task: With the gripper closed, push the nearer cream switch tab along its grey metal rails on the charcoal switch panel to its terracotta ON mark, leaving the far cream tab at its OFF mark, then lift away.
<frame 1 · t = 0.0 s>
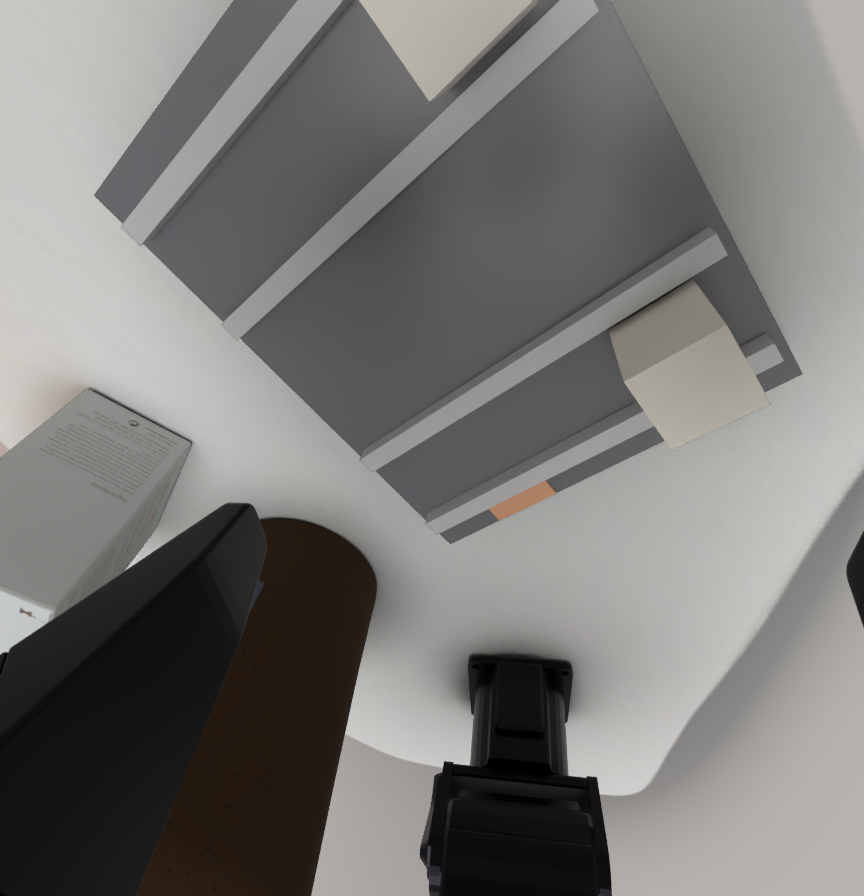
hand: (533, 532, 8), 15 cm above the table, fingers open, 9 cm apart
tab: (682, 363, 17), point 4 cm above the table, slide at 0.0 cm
olive oil: (301, 571, 33), on the table
small box: (128, 462, 30), on the table
switch panel: (456, 267, 21), on the table
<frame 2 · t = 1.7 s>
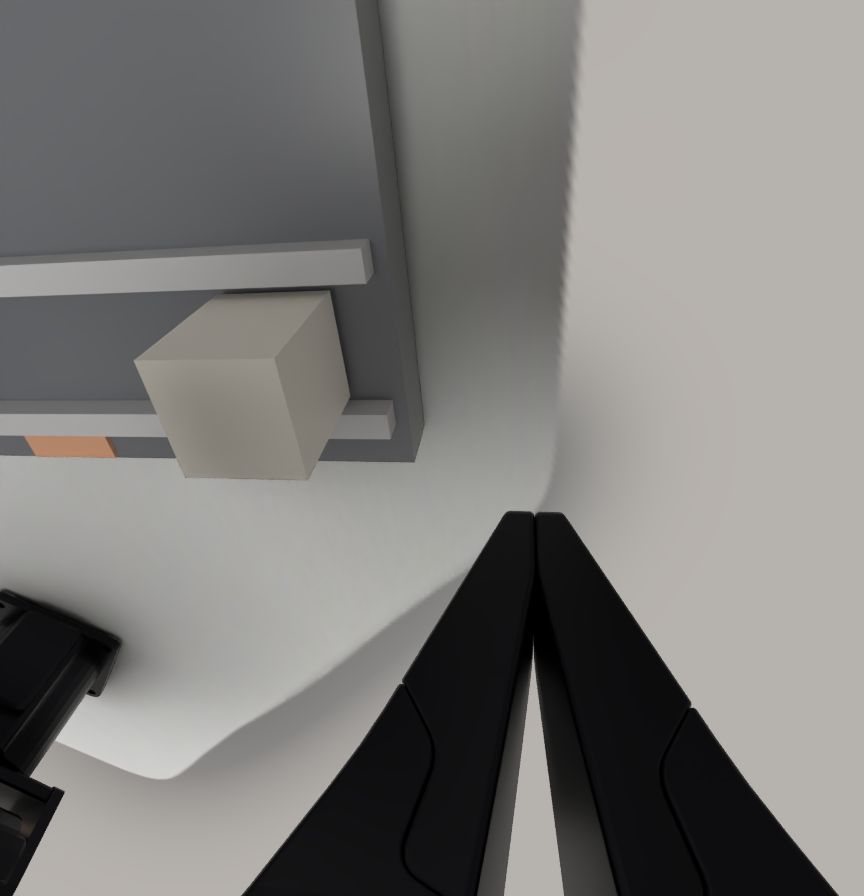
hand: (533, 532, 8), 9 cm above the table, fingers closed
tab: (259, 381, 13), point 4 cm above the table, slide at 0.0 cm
switch panel: (73, 91, 14), on the table
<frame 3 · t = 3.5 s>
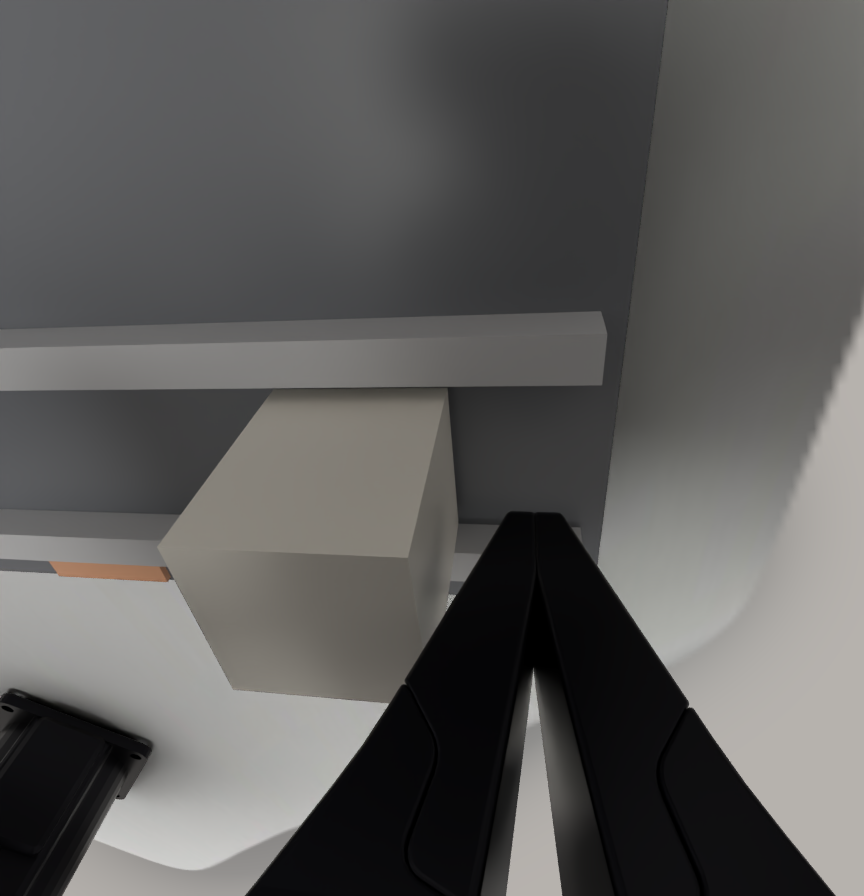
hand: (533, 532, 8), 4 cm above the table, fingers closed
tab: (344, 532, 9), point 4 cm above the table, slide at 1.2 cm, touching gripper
switch panel: (125, 80, 9), on the table
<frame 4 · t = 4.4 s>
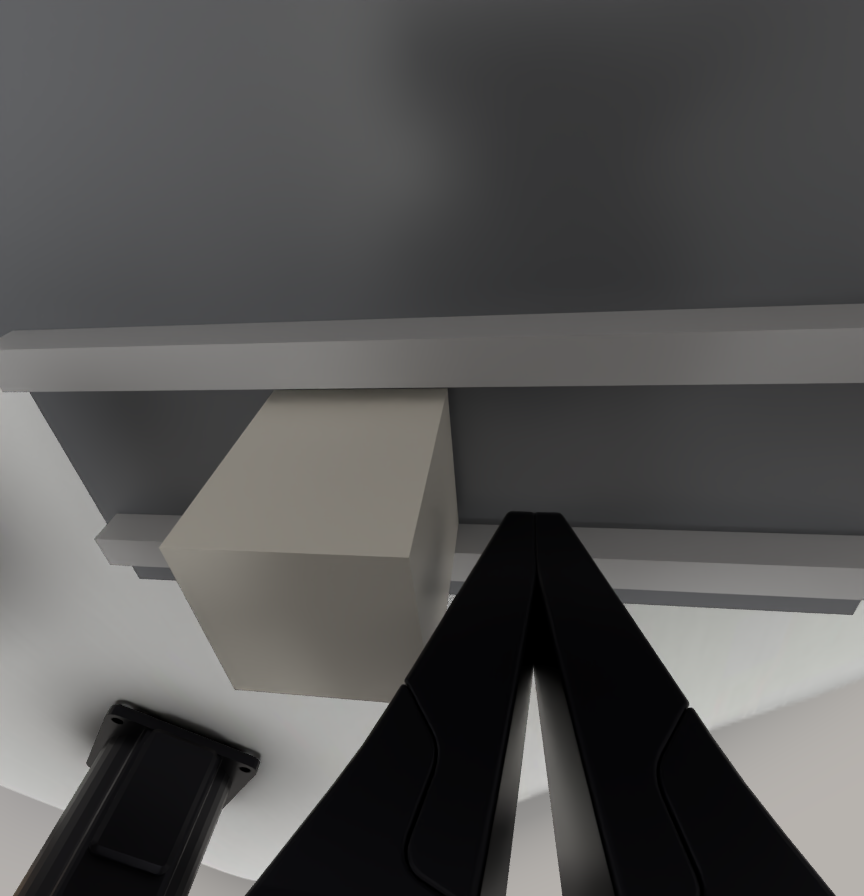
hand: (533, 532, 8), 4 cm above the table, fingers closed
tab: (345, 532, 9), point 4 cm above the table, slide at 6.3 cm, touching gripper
switch panel: (431, 48, 8), on the table
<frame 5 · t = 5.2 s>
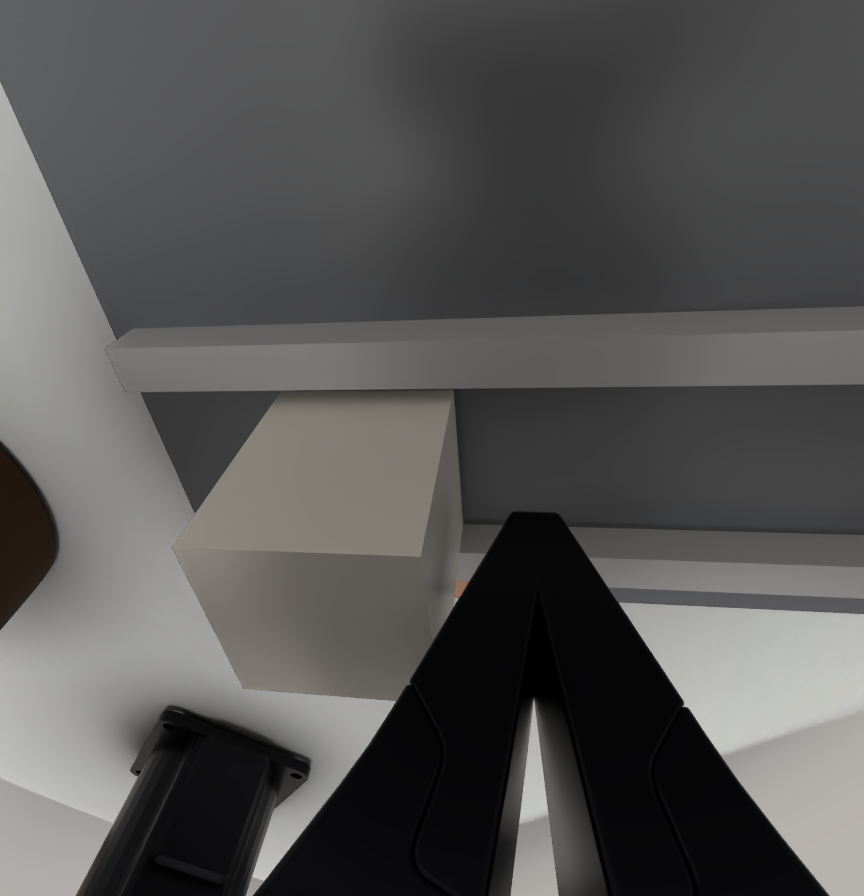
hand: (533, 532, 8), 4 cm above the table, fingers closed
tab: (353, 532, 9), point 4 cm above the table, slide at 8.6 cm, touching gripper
switch panel: (591, 37, 8), on the table
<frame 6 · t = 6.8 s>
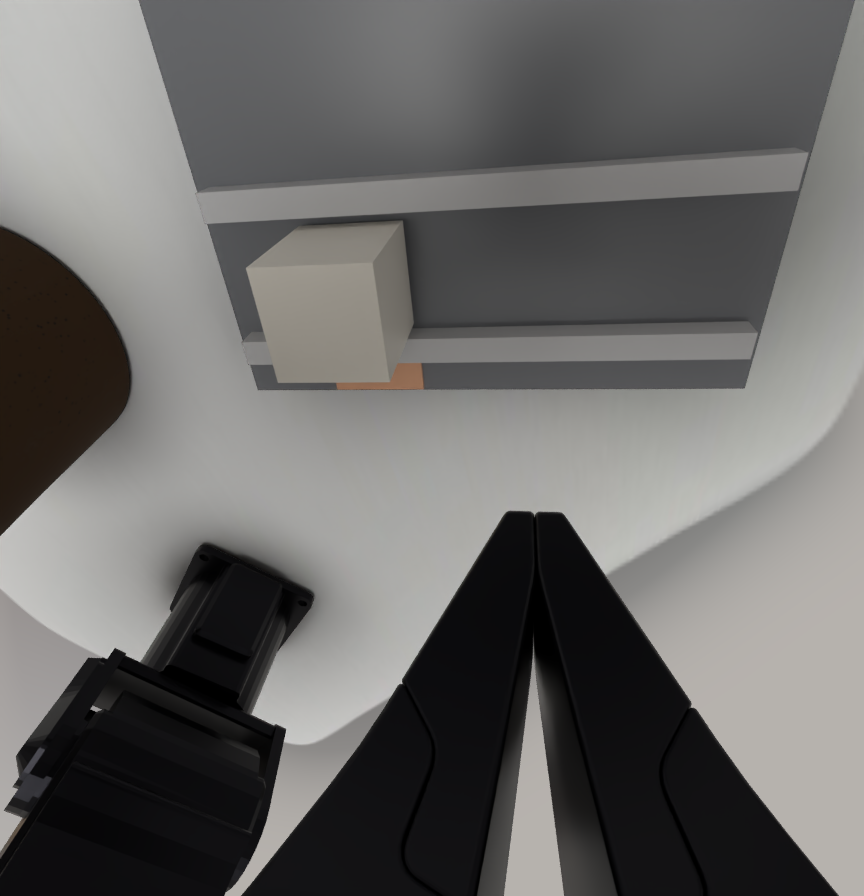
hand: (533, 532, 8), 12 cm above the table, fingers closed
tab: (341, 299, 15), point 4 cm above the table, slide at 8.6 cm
olive oil: (22, 334, 22), on the table
switch panel: (478, 7, 14), on the table
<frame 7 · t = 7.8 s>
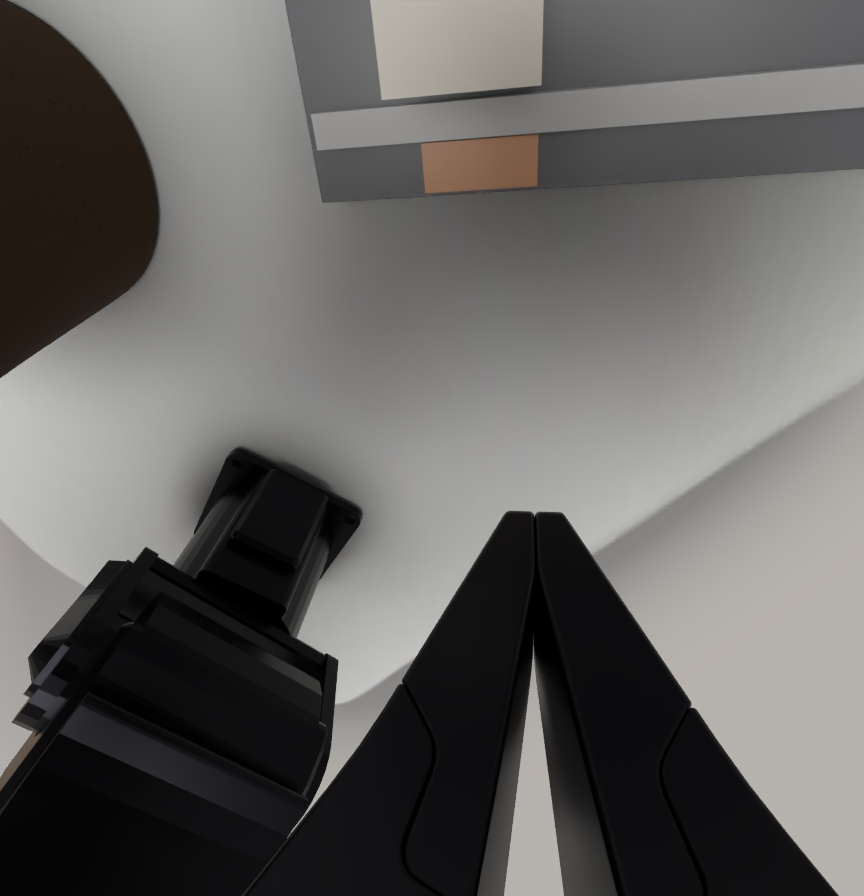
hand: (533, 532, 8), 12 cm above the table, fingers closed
olive oil: (27, 165, 18), on the table
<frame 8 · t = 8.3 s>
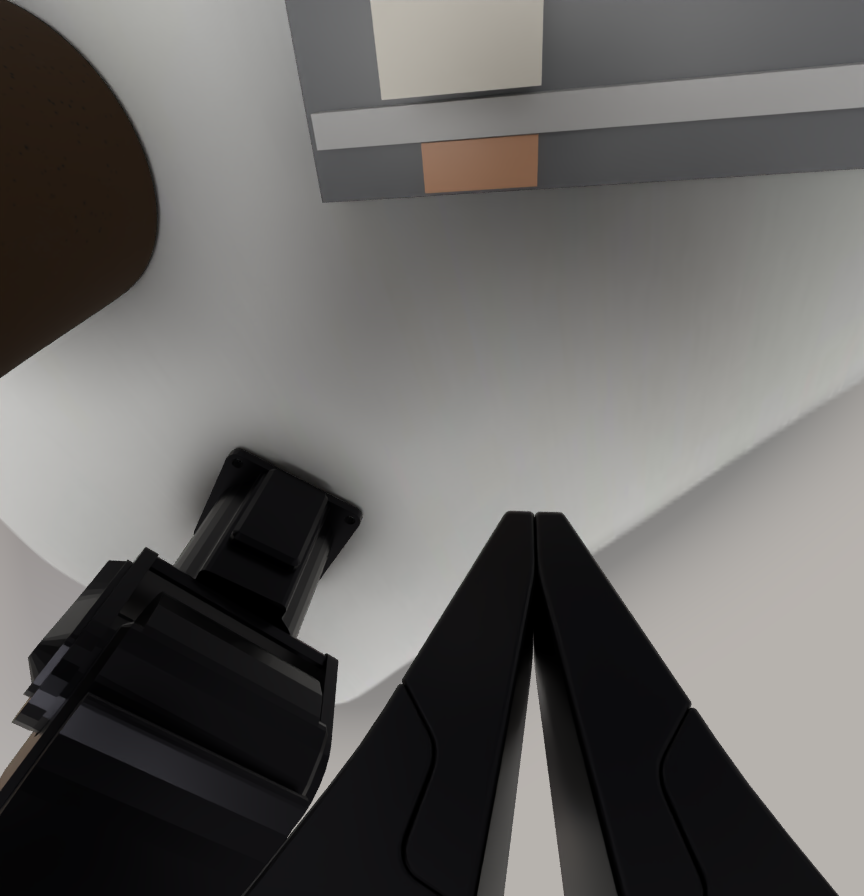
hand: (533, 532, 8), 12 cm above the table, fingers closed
olive oil: (27, 165, 18), on the table
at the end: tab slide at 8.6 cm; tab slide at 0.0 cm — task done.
